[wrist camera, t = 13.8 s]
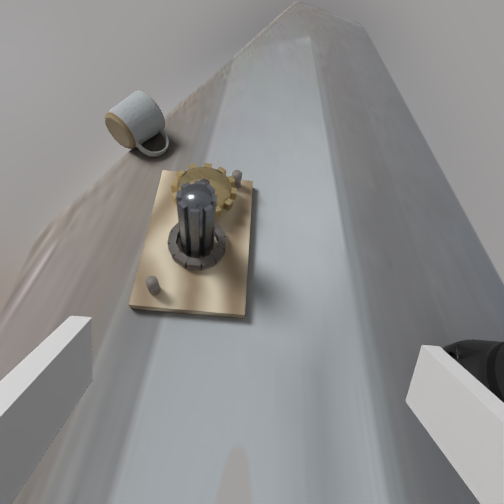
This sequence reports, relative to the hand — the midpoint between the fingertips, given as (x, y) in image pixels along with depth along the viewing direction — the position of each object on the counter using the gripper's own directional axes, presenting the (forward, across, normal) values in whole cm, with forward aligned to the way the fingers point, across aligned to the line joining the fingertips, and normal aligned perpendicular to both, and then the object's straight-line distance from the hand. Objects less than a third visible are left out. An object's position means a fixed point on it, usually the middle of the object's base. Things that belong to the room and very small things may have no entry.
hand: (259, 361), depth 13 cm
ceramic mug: (+55, -19, +10) cm, 59 cm away
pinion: (+37, -6, -5) cm, 38 cm away
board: (+40, -6, -5) cm, 41 cm away
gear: (+44, -6, +1) cm, 44 cm away
